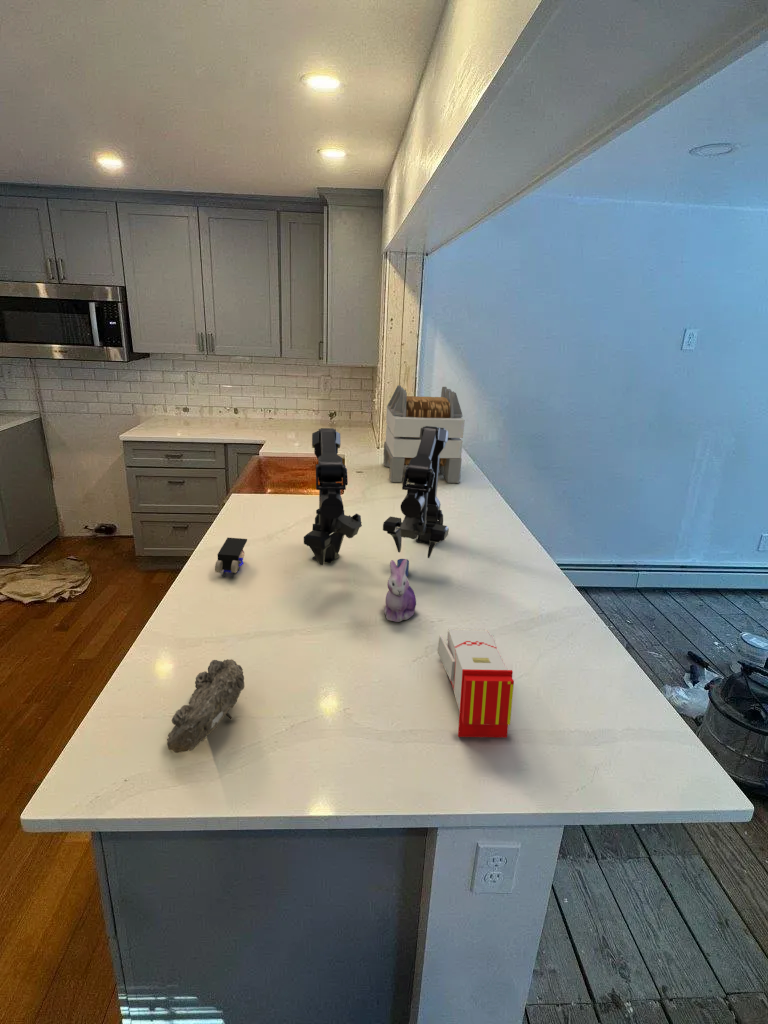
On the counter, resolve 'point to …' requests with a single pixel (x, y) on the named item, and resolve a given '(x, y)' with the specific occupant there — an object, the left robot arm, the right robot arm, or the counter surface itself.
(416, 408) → the grey crate with roll
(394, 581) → the figurine
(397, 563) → the canister
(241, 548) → the black wheeled cart
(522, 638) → the counter surface
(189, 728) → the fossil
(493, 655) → the toy
